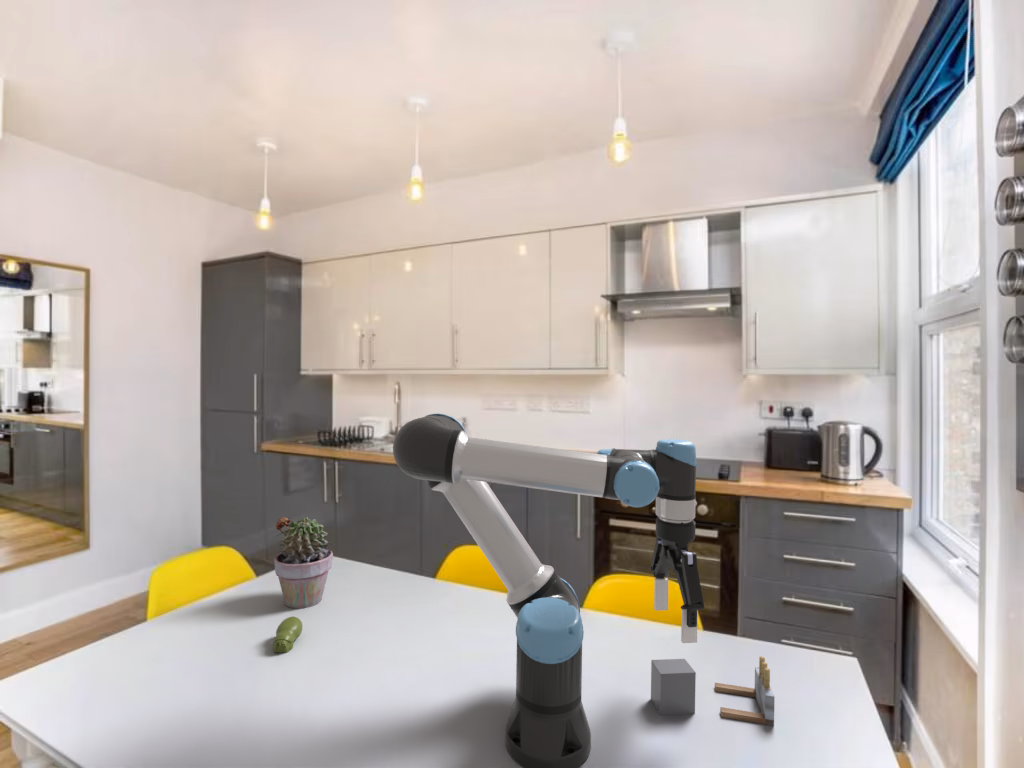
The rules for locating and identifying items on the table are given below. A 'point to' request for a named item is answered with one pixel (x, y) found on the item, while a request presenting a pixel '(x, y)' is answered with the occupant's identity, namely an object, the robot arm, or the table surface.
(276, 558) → the potted plant
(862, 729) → the table surface
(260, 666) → the table surface
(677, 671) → the plug block
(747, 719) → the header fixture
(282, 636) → the green rounded oblong piece
